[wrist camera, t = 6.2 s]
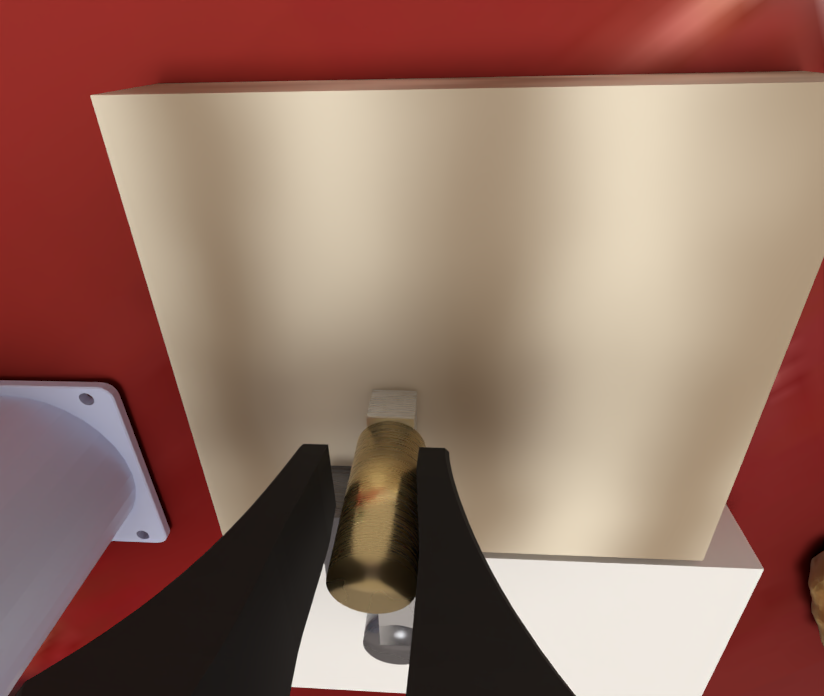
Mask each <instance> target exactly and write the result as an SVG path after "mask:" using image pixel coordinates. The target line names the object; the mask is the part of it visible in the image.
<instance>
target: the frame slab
mask: <svg viewBox="0 0 824 696" xmlns="http://www.w3.org/2000/svg"><path fill="white" fill-rule="evenodd" d="M482 553H483V555H484V557H485V559H486V561H487V563H488V565H489V567H490V569H491V570H492V572H493V574H494V576H495V578H496V580H497V581H498V583H499V585H500V587H501V589H502V590H503V592H504V594H505V595H506V597H507V599H508V600H509V602H510V604H511V605H512V607H513V609H514V610H515V612H516V613H517V615H518V616H519V618H520V619H521V621H522V622H523V624H524V625H525V627H526V628H527V630H528V631H529V633H530V634H531V636H532V637H533V639H534V640H535V642H536V643H537V645H538V646H539V648H540V649H541V651H542V652H543V653H544V655H545V656H546V657H547V659H548V660H549V661H550V663H551V664H552V665H553V667H554V668H555V670H556V671H557V672H558V674H559V675H560V676H561V677H562V679H563V680H564V681H565V683H566V684H567V685H568V686H569V688H570V689H571V690H572V691H573V693H574V694H575V695H576V696H702V694H703V692H704V690H705V688H706V686H707V684H708V682H709V680H710V678H711V676H712V674H713V672H714V670H715V668H716V666H717V663H718V661H719V659H720V657H721V655H722V653H723V651H724V649H725V647H726V645H727V643H728V641H729V639H730V637H731V635H732V633H733V631H734V629H735V627H736V625H737V623H738V621H739V619H740V617H741V615H742V613H743V611H744V609H745V607H746V605H747V603H748V601H749V599H750V597H751V595H752V592H753V590H754V588H755V586H756V584H757V582H758V580H759V578H760V576H761V574H762V572H763V570H764V568H763V567H762V565H761V563H760V562H759V560H758V558H757V556H756V555H755V553H754V551H753V550H752V548H751V546H750V544H749V543H748V541H747V539H746V538H745V536H744V534H743V532H742V531H741V529H740V527H739V526H738V524H737V522H736V520H735V519H734V517H733V515H732V514H731V512H730V510H729V508H728V507H727V505H726V504H725V507H724V509H723V512H722V514H721V517H720V519H719V522H718V524H717V527H716V529H715V532H714V534H713V537H712V539H711V542H710V544H709V547H708V549H707V552H706V554H705V557H704V559H703V561H696V560H671V559H646V558H620V557H595V556H570V555H544V554H519V553H493V552H482ZM366 617H367V613H364V612H359V611H356V610H353V609H350V608H348V607H346V606H344V605H342V604H341V603H339V602H338V601H337V600H336V599H334V598H333V596H332V595H331V594H330V592H329V591H328V589H327V586H326V571H325V564H324V565H323V568H322V571H321V575H320V578H319V582H318V585H317V588H316V592H315V595H314V598H313V602H312V605H311V609H310V612H309V615H308V619H307V622H306V625H305V629H304V632H303V636H302V640H301V644H300V648H299V651H298V656H297V661H296V666H295V671H294V676H293V681H292V686H291V687H305V688H322V689H340V690H357V691H375V692H392V693H406V688H407V679H408V670H409V664H407V665H396V664H389V663H385V662H382V661H380V660H377V659H375V658H374V657H372V656H371V655H370V654H368V652H367V651H366V650H365V648H364V646H363V638H364V631H365V624H366Z"/></svg>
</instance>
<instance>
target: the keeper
mask: <svg viewBox="0 0 824 696" xmlns="http://www.w3.org/2000/svg"><path fill="white" fill-rule="evenodd" d="M351 467H352V466H331V470H332V478H333V485H334V493H335V500H336V508H335V515H334V521H333V527H332V532H331V538H330V543H329V547H328V551H327V554H326V558H325V561H324V564H325V571H326V576H327V572H328V567H329V563H330V559H331V554H332V550H333V546H334V541H335V537H336V533H337V528H338V524H339V519H340V515H341V511H342V506H343V502H344V498H345V493H346V489H347V485H348V480H349V476H350V472H351Z"/></svg>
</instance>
